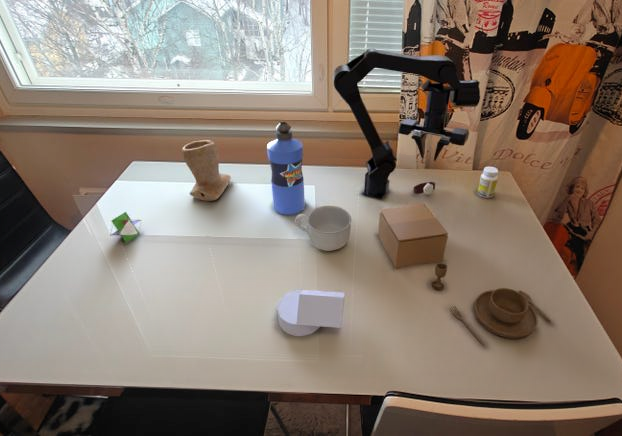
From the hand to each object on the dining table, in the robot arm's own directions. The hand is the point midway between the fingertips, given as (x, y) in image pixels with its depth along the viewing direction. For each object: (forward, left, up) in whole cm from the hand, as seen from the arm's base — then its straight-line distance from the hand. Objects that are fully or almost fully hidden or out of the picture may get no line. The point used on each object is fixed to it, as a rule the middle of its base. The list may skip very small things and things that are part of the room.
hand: (428, 159), depth 113 cm
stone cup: (-59, -31, -11) cm, 67 cm away
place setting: (+26, -39, -11) cm, 48 cm away
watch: (0, 0, -11) cm, 11 cm away
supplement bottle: (+17, +7, -11) cm, 22 cm away
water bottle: (-32, -27, -11) cm, 43 cm away
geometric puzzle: (-60, -59, -11) cm, 85 cm away
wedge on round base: (-5, -60, -11) cm, 61 cm away
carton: (+5, -29, -11) cm, 31 cm away
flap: (+3, -26, -3) cm, 26 cm away
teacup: (-15, -37, -11) cm, 41 cm away
